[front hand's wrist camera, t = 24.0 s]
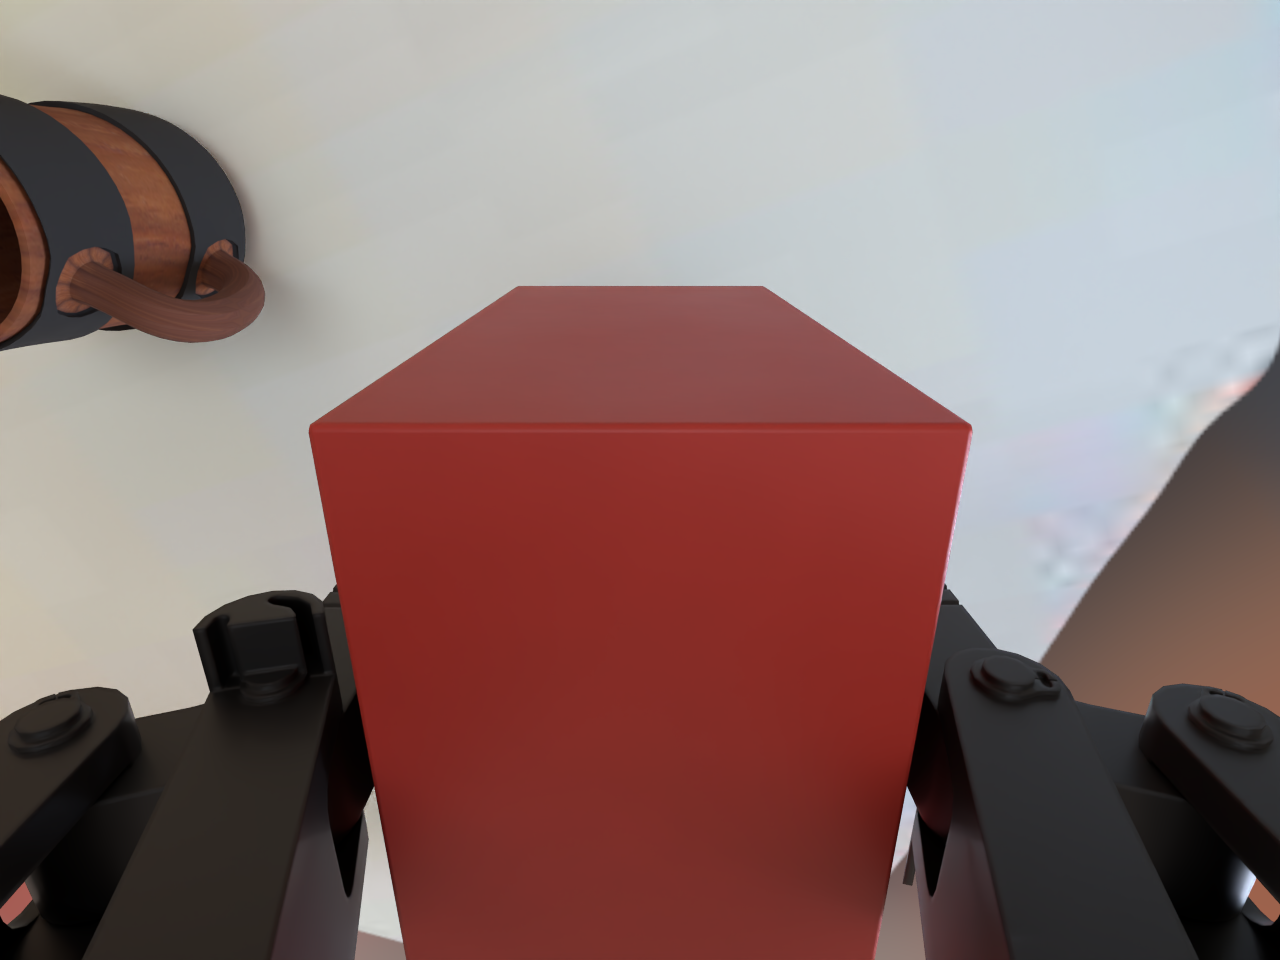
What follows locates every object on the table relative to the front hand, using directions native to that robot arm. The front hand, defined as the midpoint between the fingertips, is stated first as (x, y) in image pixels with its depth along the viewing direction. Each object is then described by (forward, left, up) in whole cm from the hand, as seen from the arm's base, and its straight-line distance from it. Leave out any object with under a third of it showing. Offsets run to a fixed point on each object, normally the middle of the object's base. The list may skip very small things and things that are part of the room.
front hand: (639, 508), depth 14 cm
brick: (0, 0, -1) cm, 1 cm away
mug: (-19, +9, -20) cm, 29 cm away
